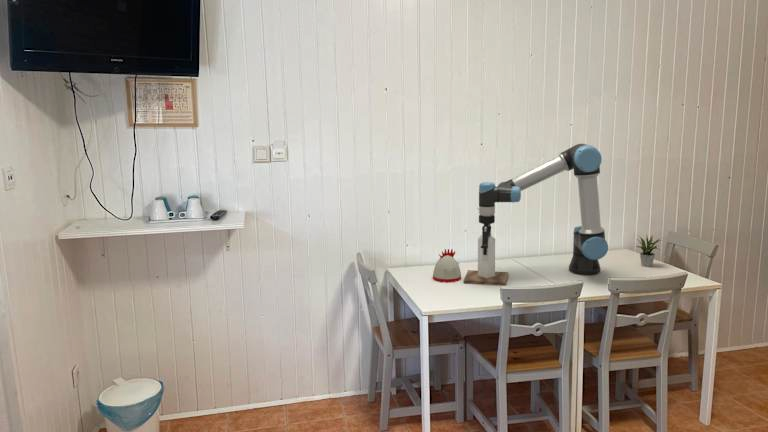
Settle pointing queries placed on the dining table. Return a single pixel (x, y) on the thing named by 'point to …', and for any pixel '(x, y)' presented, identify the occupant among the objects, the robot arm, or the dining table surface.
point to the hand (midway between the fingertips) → (486, 257)
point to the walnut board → (473, 278)
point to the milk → (488, 267)
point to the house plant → (647, 252)
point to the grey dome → (447, 268)
